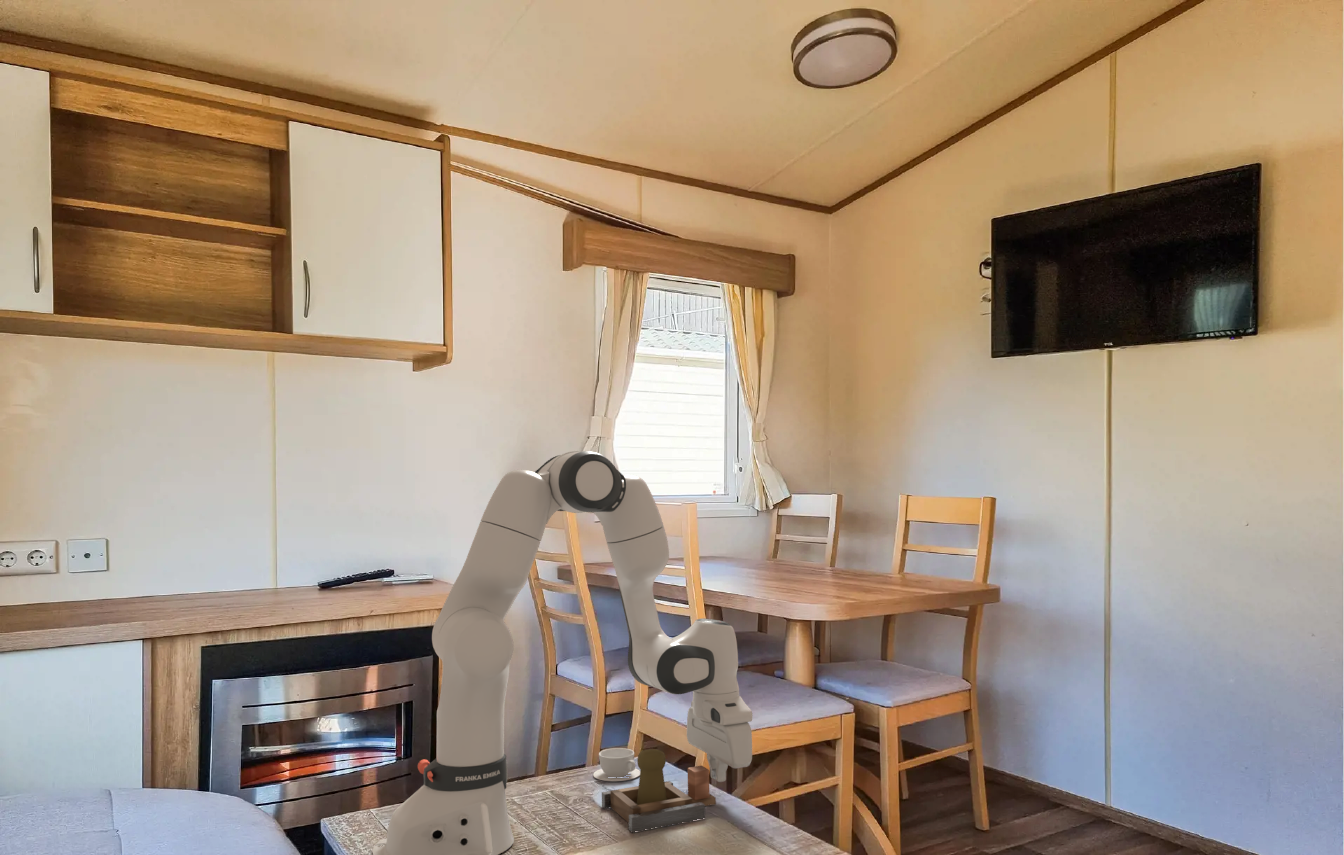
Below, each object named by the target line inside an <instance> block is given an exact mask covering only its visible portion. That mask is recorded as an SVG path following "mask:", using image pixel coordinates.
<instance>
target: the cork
mask: <svg viewBox="0 0 1344 855" xmlns="http://www.w3.org/2000/svg"><path fill="white" fill-rule="evenodd" d="M636 762H637V766H638V768H639V770H640V775H639V780H638V781H639V782H638V786H639V788H638V797H637V805H641V804H647V803H652V802H658V801H664V800H667V797H666V790H665V783H664V782H665V778H664V776H665V775H664V767H665V766H666V755H665V753H664V752H663V750H660V749H656V748H649V749H643V750H642V751H640V752H639V753H638V755H637V761H636Z"/></svg>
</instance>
